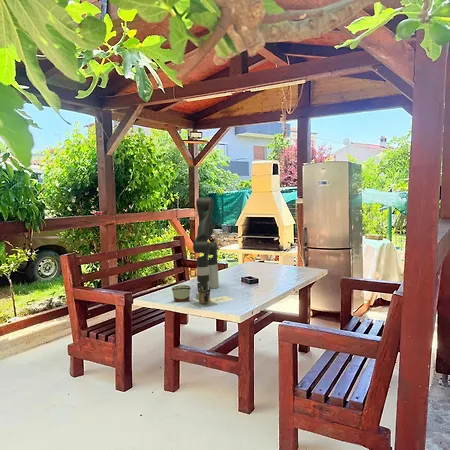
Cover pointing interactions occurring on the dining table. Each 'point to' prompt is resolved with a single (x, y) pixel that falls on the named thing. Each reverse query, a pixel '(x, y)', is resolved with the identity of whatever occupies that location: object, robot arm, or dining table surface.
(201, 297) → the block
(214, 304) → the mat
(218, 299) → the plaque
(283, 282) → the dining table surface
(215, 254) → the robot arm
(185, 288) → the food container
